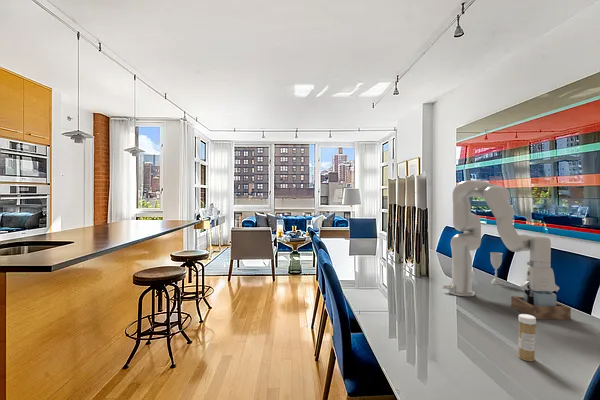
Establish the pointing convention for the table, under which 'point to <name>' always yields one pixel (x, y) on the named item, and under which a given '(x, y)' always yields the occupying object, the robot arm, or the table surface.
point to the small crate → (542, 298)
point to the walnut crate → (541, 309)
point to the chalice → (496, 264)
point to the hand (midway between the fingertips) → (539, 304)
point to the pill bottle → (527, 337)
